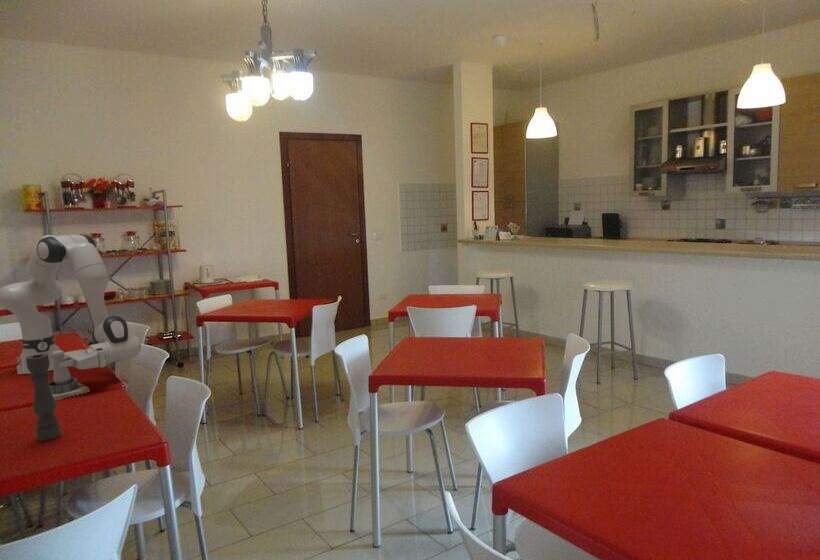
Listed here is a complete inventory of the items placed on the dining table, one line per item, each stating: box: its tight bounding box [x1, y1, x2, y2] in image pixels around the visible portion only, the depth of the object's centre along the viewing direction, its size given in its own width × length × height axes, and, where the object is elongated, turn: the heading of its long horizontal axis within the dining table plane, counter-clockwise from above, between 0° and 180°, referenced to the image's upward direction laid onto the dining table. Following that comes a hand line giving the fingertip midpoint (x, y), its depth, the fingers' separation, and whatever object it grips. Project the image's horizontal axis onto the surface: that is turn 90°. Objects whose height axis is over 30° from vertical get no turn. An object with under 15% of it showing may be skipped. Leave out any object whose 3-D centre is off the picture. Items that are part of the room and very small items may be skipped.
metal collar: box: [49, 377, 79, 394], centre depth 222 cm, size 10×10×3 cm
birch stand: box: [52, 381, 91, 402], centre depth 223 cm, size 14×14×2 cm
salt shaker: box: [51, 349, 72, 385], centre depth 222 cm, size 6×6×13 cm
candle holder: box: [26, 354, 62, 442], centre depth 178 cm, size 6×6×25 cm
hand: (56, 364), depth 221 cm, fingers closed on salt shaker, 3 cm apart
